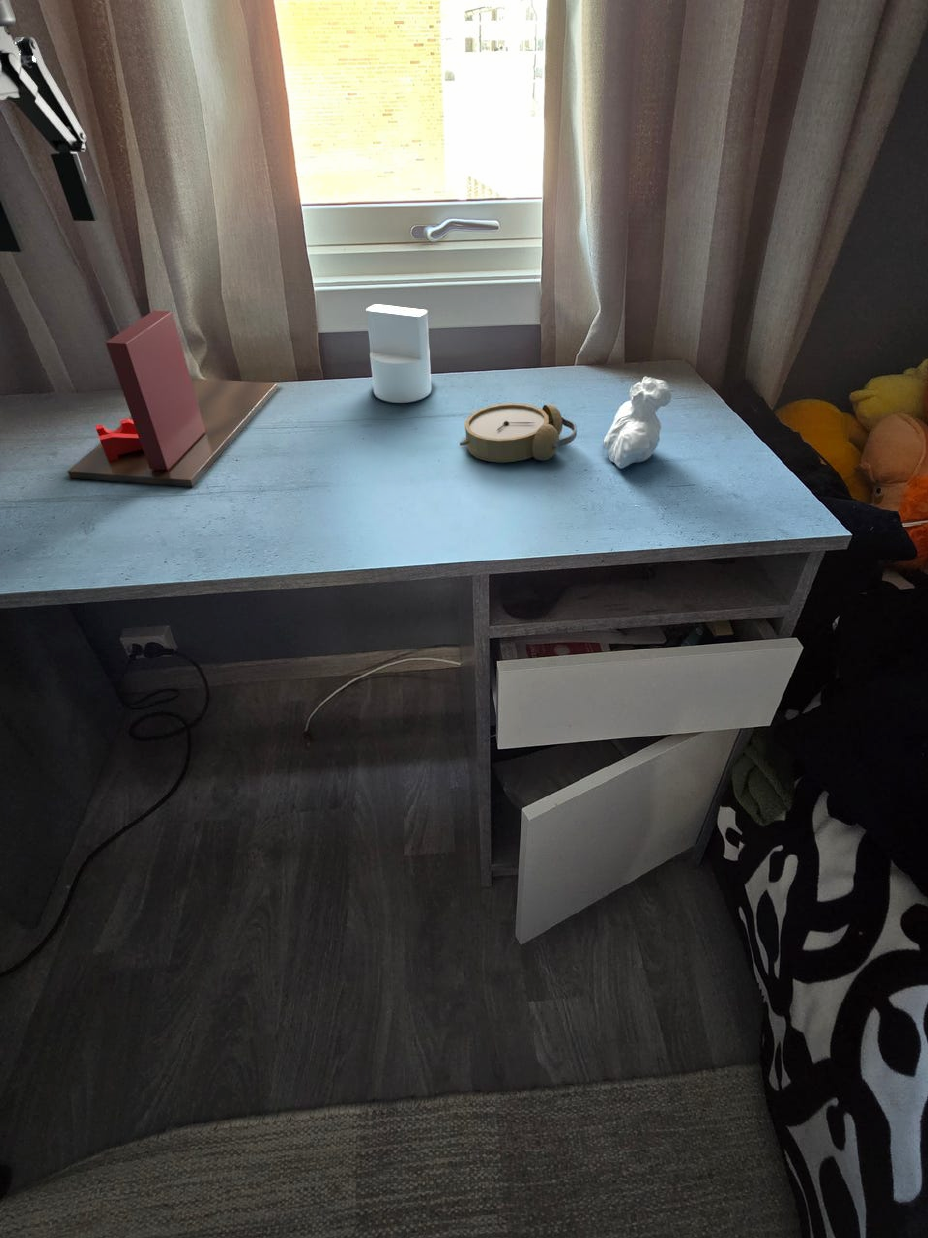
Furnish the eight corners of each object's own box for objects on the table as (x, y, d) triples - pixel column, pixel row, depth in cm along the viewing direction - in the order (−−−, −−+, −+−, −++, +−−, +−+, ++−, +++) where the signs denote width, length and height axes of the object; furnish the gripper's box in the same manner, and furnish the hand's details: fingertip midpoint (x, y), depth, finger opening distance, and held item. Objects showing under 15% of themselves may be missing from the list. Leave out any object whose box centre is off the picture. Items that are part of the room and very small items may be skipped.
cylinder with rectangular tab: (363, 397, 106) (354, 316, 98) (390, 375, 112) (383, 297, 104) (416, 406, 103) (411, 323, 95) (440, 383, 109) (437, 304, 101)
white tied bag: (632, 493, 88) (702, 430, 81) (588, 458, 85) (657, 390, 79) (626, 448, 97) (689, 388, 90) (586, 415, 94) (648, 351, 88)
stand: (70, 478, 89) (67, 471, 88) (177, 383, 111) (176, 377, 110) (192, 486, 87) (190, 479, 86) (277, 388, 109) (276, 382, 108)
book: (149, 469, 88) (105, 342, 77) (189, 429, 96) (153, 310, 85) (168, 470, 88) (125, 343, 77) (205, 430, 96) (172, 310, 85)
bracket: (108, 461, 90) (99, 440, 88) (103, 446, 93) (94, 425, 91) (158, 448, 92) (151, 428, 90) (152, 434, 95) (144, 414, 93)
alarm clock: (471, 403, 97) (578, 392, 92) (477, 435, 100) (581, 426, 96) (454, 440, 88) (570, 430, 84) (461, 474, 92) (574, 466, 87)
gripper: (-121, -39, 52) (8, 267, 66) (71, -28, 70) (139, 209, 84) (-206, -36, 53) (-61, 265, 67) (5, -26, 71) (84, 208, 85)
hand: (51, 234), depth 76 cm, fingers open, 13 cm apart
